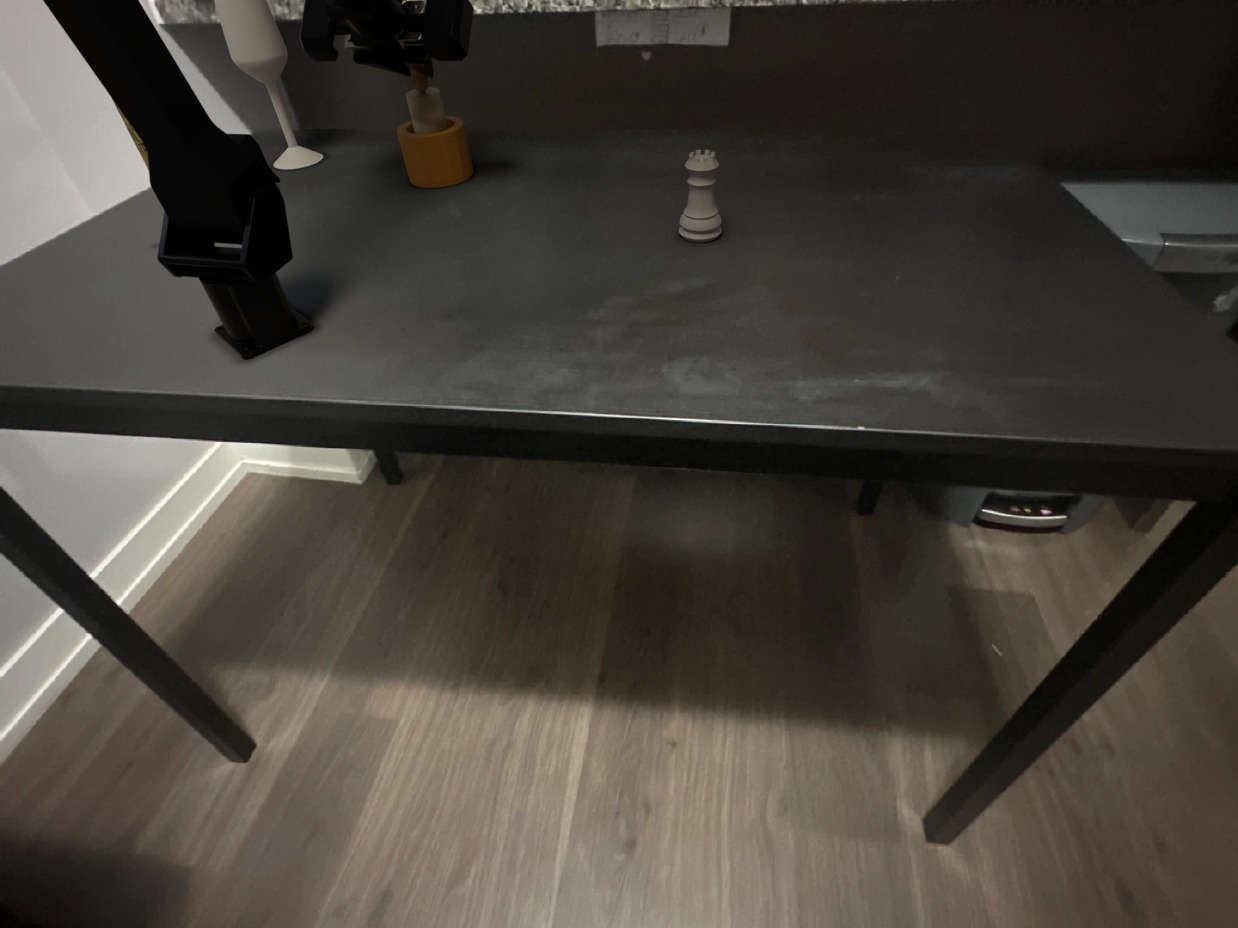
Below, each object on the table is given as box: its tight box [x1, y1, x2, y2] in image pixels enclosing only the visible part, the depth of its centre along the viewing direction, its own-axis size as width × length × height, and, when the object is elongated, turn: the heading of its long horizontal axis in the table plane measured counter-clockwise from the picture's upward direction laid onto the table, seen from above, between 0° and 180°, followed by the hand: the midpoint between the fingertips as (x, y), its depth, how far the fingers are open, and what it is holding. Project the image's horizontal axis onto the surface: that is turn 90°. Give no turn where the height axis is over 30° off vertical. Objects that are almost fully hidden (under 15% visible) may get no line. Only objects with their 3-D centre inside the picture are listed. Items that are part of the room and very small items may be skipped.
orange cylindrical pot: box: [396, 115, 474, 189], centre depth 85 cm, size 8×8×6 cm
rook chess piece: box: [678, 149, 723, 243], centre depth 68 cm, size 4×4×8 cm
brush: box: [402, 42, 448, 134], centre depth 80 cm, size 4×4×13 cm
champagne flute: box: [213, 0, 324, 170], centre depth 87 cm, size 7×7×24 cm
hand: (424, 74), depth 81 cm, fingers closed on brush, 2 cm apart
